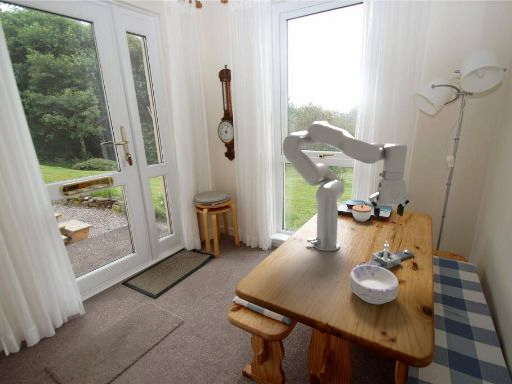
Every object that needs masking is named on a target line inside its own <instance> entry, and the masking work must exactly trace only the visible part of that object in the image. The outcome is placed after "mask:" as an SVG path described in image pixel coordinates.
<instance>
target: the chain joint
mask: <svg viewBox="0 0 512 384" xmlns="http://www.w3.org/2000/svg"><path fill="white" fill-rule="evenodd" d="M384 252H385V251H384V250H379V251H376V252H374V253H371V255H370V256H371V259H370V260H369V261H366V262H365V261H364V262H363V263H359V264H357V265H355V266H354V268H355V267H356V266H360V265H375V266H379V267H382V268H385V269H387V270H389V269H390V268H393V267H396V266H399V265H401V262H402V261H404V260H407V259H408V258H412V257H414V256H415V254H416V253H415V252H412V251H411V250H410V249H408V248H405V249H401V250H399V251H396V252H391V251H390V250H389V251H388V252H387V258H388V259H390V260H389V261H386V260H384V259H382V258H383V256H384Z"/></svg>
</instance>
